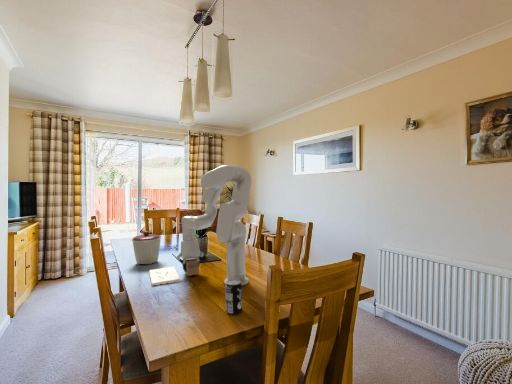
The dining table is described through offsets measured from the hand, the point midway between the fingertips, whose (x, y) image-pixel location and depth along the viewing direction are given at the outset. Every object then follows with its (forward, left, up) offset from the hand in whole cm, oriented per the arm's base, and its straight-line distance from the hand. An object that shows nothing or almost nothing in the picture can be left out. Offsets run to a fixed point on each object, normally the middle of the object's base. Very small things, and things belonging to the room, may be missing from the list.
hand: (191, 269), depth 155 cm
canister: (+39, +21, -3) cm, 44 cm away
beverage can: (-53, -7, -3) cm, 54 cm away
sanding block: (0, 0, -2) cm, 2 cm away
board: (+4, +14, -3) cm, 15 cm away
